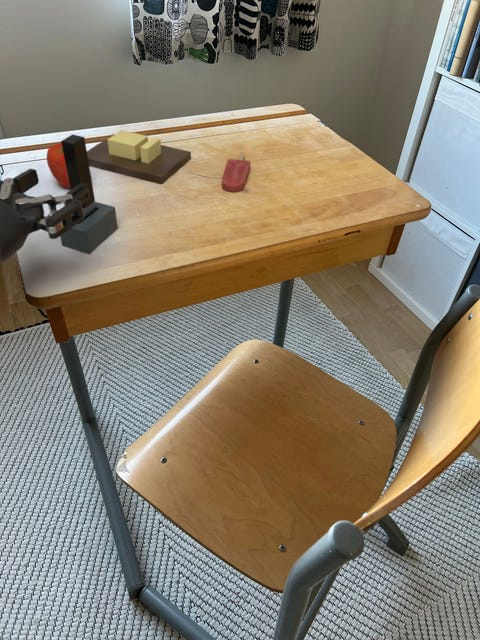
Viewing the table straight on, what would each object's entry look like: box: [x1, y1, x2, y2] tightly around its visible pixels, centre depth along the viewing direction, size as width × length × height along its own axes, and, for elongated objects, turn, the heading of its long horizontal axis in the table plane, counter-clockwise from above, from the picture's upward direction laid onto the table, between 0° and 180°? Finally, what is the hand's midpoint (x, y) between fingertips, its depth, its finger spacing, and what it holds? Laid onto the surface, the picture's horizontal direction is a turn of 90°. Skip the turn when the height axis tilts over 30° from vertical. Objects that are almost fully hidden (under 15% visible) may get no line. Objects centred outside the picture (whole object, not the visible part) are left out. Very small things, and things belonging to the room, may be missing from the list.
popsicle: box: [221, 151, 251, 193], centre depth 99 cm, size 4×2×15 cm
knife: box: [60, 134, 96, 224], centre depth 76 cm, size 2×4×16 cm, turn 157°
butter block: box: [106, 129, 149, 160], centre depth 100 cm, size 6×5×3 cm
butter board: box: [87, 133, 192, 185], centre depth 101 cm, size 18×12×2 cm, turn 67°
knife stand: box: [59, 200, 119, 255], centre depth 80 cm, size 5×8×4 cm, turn 157°
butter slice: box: [140, 137, 162, 164], centre depth 98 cm, size 2×5×3 cm, turn 157°
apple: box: [46, 143, 71, 189], centre depth 91 cm, size 6×6×8 cm
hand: (60, 182), depth 71 cm, fingers open, 8 cm apart
